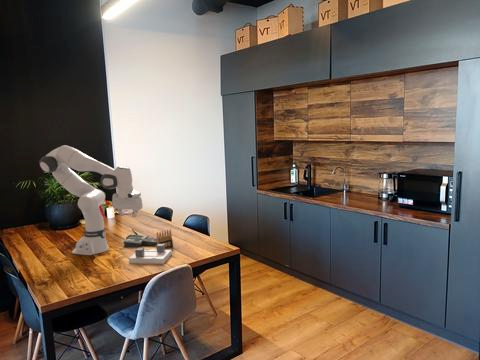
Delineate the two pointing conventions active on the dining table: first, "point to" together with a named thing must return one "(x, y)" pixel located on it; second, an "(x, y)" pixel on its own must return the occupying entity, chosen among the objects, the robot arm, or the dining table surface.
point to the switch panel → (151, 257)
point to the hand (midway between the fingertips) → (128, 216)
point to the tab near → (139, 252)
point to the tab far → (160, 247)
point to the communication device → (139, 240)
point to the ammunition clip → (165, 239)
